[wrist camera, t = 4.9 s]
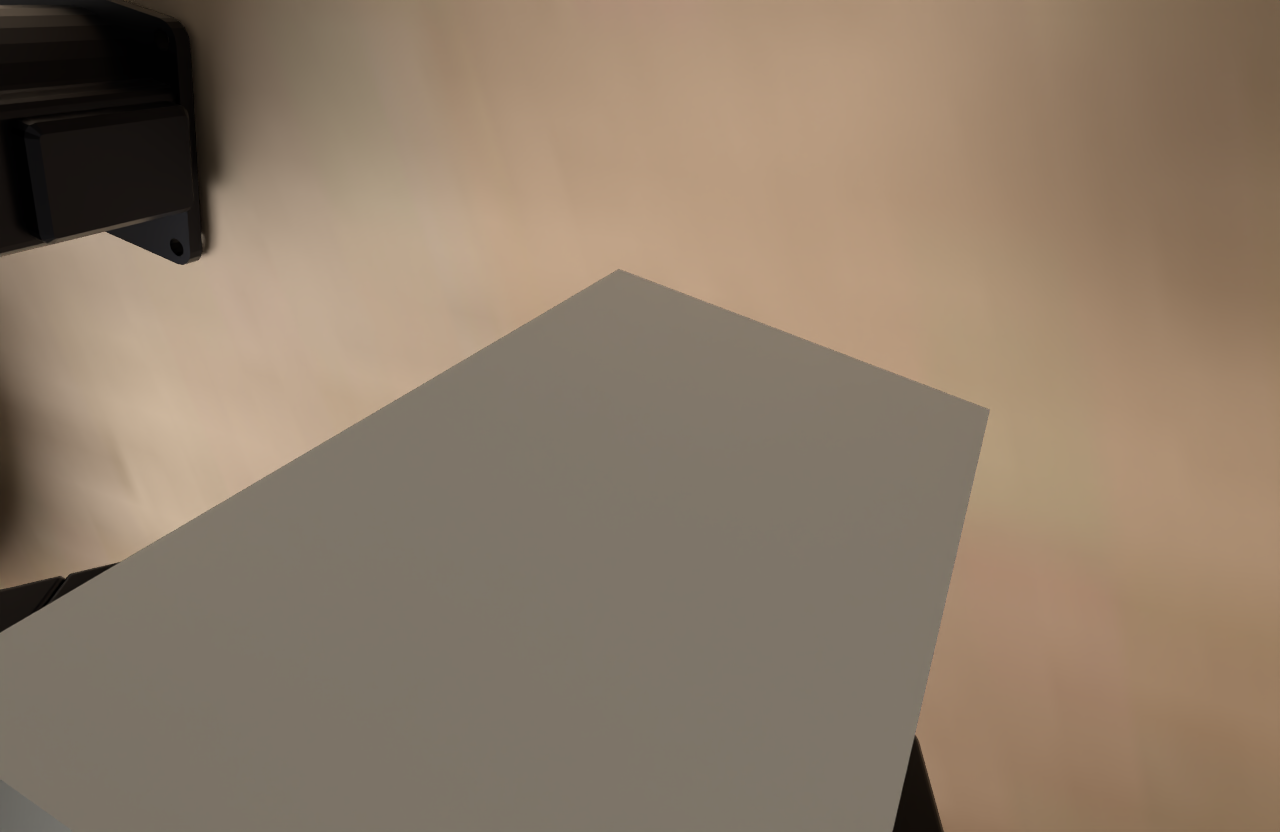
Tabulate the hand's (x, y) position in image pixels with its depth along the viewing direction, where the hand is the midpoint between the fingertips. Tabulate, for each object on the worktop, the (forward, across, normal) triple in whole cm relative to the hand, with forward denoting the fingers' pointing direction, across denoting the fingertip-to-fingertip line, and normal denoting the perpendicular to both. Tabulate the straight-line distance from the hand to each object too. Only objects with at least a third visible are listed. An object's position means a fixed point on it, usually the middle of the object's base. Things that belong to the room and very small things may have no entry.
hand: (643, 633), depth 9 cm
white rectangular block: (+3, 0, 0) cm, 3 cm away
